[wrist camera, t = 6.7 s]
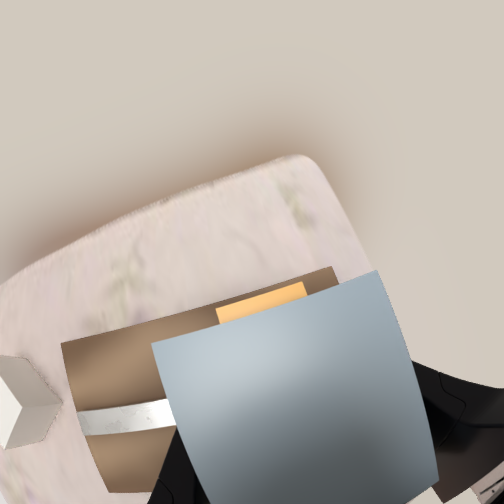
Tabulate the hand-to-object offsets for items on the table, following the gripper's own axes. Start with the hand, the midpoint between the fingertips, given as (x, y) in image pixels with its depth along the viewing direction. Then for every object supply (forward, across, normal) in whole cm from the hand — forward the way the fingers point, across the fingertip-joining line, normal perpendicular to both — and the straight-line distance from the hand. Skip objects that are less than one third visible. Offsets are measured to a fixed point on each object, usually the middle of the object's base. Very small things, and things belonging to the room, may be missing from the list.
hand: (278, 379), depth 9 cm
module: (+4, 0, +6) cm, 7 cm away
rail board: (+8, +4, +9) cm, 13 cm away
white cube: (+10, +22, +8) cm, 26 cm away
